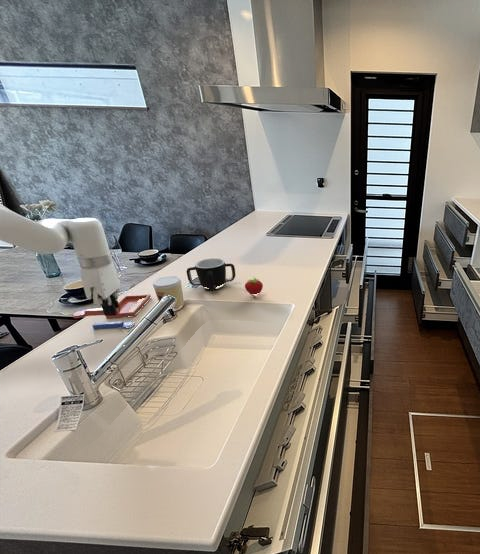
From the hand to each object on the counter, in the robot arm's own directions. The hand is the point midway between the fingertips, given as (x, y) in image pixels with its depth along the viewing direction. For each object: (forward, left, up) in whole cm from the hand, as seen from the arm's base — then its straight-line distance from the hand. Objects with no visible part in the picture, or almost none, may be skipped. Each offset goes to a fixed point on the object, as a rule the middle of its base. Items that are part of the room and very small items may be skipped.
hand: (112, 313), depth 98 cm
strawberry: (+40, +27, -11) cm, 49 cm away
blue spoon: (-6, +9, -11) cm, 15 cm away
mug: (+20, +40, -11) cm, 46 cm away
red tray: (-7, +23, -11) cm, 26 cm away
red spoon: (-4, 0, 0) cm, 5 cm away
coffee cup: (+9, +21, -11) cm, 25 cm away
